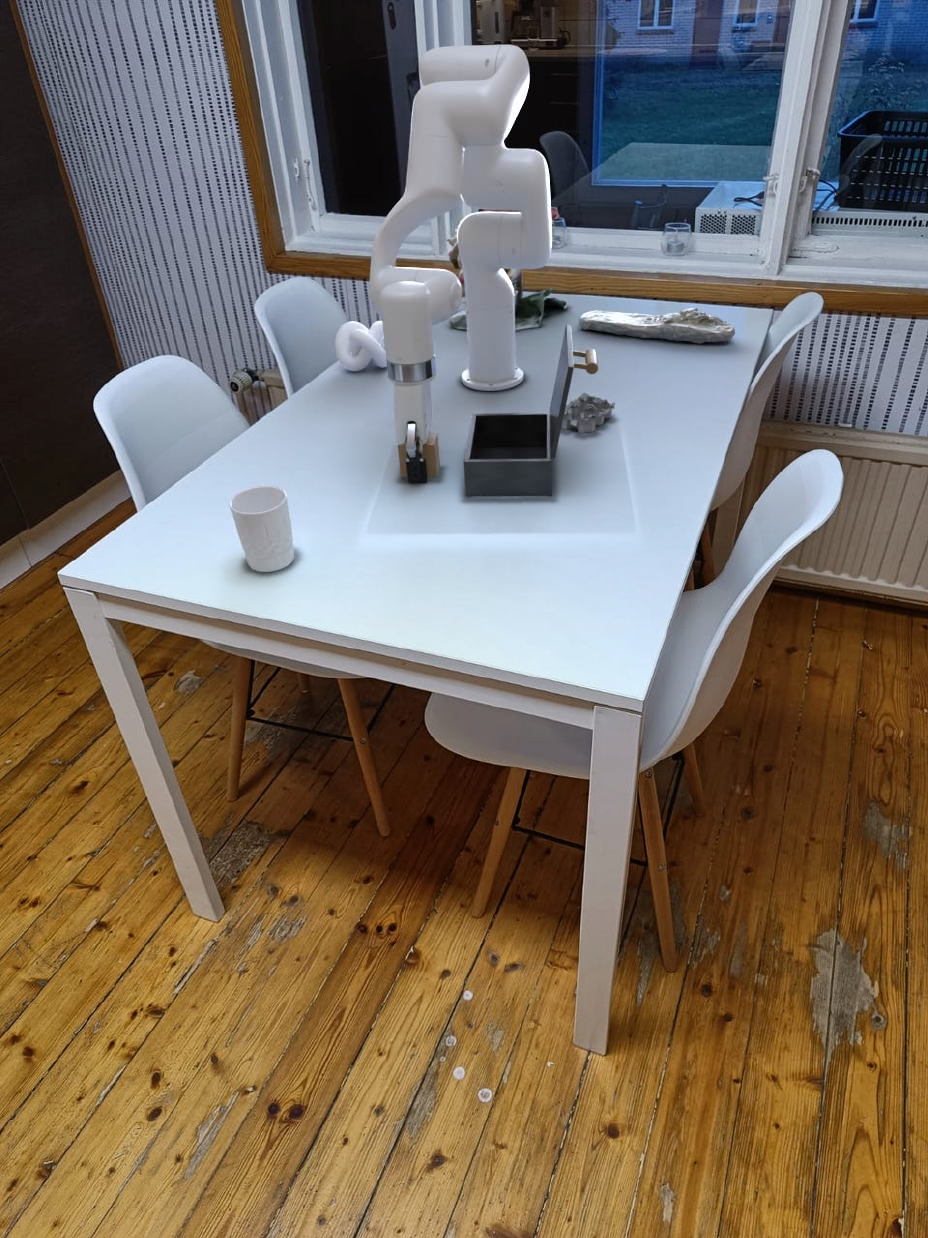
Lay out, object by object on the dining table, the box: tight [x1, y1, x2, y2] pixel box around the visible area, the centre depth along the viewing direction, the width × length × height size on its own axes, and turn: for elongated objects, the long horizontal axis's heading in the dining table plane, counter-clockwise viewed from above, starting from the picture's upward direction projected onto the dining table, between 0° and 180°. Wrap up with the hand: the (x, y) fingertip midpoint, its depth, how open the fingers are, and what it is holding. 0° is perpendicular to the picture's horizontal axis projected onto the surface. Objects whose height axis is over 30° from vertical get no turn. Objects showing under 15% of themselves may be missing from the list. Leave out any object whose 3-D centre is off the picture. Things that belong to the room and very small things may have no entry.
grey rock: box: [561, 392, 616, 434], centre depth 155 cm, size 11×8×4 cm
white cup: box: [228, 485, 295, 573], centre depth 122 cm, size 8×8×10 cm
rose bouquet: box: [446, 206, 569, 331], centre depth 198 cm, size 26×29×30 cm
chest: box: [463, 411, 553, 498], centre depth 140 cm, size 14×18×7 cm
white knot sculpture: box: [334, 320, 387, 372], centre depth 183 cm, size 11×12×9 cm
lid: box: [549, 324, 599, 459], centre depth 133 cm, size 14×18×5 cm
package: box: [397, 432, 441, 478], centre depth 142 cm, size 6×4×7 cm
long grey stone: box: [578, 307, 736, 345], centre depth 191 cm, size 35×5×10 cm
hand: (420, 469), depth 143 cm, fingers open, 7 cm apart
